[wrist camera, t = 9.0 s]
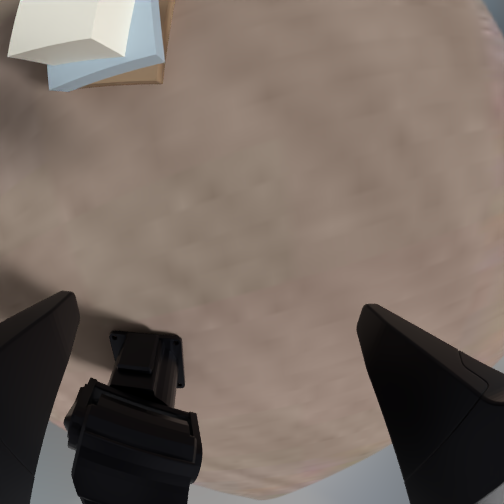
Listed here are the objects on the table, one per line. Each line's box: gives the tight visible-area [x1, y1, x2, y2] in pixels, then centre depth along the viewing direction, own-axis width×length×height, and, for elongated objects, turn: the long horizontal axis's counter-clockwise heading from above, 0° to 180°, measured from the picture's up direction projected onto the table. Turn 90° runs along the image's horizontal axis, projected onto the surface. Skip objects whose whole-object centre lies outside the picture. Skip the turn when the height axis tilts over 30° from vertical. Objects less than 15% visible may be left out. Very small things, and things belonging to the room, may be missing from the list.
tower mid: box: [47, 0, 165, 92], centre depth 12 cm, size 6×6×2 cm
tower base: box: [77, 0, 175, 89], centre depth 14 cm, size 7×7×2 cm
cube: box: [7, 0, 135, 66], centre depth 9 cm, size 4×4×4 cm
